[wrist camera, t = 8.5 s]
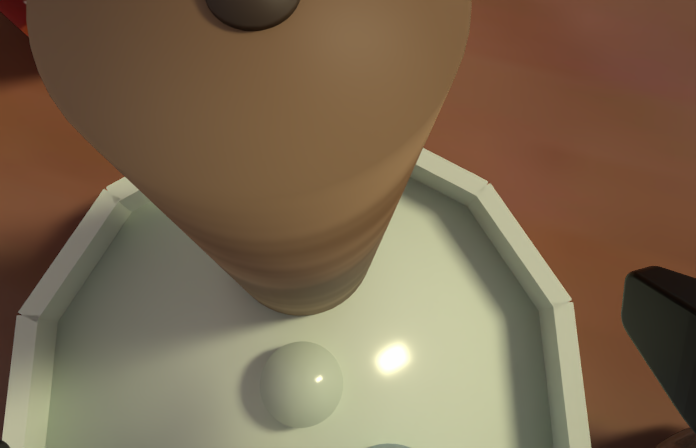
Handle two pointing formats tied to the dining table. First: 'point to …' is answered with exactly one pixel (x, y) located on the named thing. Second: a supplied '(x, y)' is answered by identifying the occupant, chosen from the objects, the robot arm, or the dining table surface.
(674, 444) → the brown hollow cylinder
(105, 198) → the green tray
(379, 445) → the blue-grey rounded piece
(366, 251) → the pepper grinder
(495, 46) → the dining table surface
